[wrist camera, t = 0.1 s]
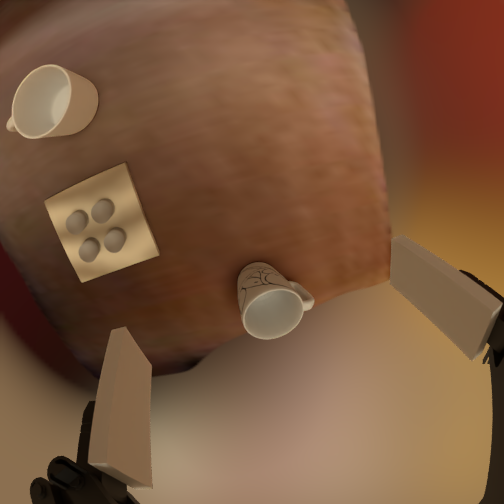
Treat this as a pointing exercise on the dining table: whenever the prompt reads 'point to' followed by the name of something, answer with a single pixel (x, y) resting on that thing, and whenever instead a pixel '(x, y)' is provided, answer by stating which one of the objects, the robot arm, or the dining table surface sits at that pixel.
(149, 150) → the dining table surface
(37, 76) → the mug
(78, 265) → the peg stand
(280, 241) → the dining table surface
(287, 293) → the mug
